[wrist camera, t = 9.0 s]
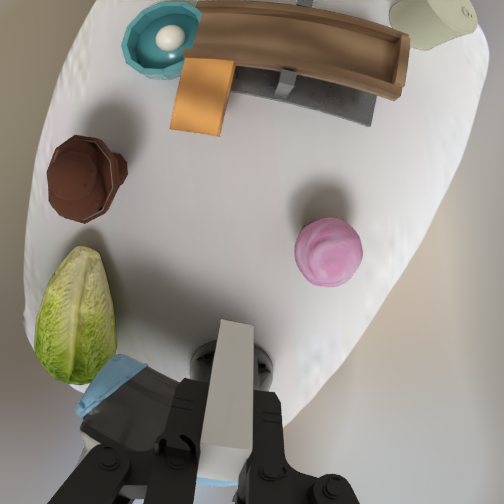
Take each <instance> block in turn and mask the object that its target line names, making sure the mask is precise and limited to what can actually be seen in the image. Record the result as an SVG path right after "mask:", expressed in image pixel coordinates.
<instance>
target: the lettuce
mask: <svg viewBox="0 0 504 504" xmlns="http://www.w3.org/2000/svg"><path fill="white" fill-rule="evenodd" d="M34 349H35V353H36V357H37V358H38V360H39V361H40V363H41V364H42V366H43V367H44V368H45V369H46V371H47V372H48V373H49V374H50V375H52V376H53V377H54V378H55V379H56V380H59V381H62V382H65V383H68V384H75V385H84V384H88V383H91V382H92V381H93V379H94V378H95V376H96V375H97V374H98V372H99V371H100V370H101V368H102V367H103V366H104V365H105V364H106V363H107V361H108V360H109V359H110V358H112V357H113V356H115V353H116V349H117V340H116V325H115V316H114V306H113V302H112V298H111V294H110V289H109V285H108V281H107V277H106V273H105V270H104V267H103V264H102V261H101V257H100V254H99V253H98V252H96V251H95V250H93V249H91V248H90V247H84V246H77V247H76V248H74V249H73V250H72V251H71V252H70V253H69V254H68V256H67V257H66V258H65V259H64V260H63V262H62V263H61V264H60V266H59V267H58V268H57V270H56V271H55V273H54V275H53V276H52V278H51V280H50V281H49V283H48V285H47V288H46V291H45V294H44V296H43V299H42V302H41V305H40V308H39V311H38V314H37V317H36V326H35V341H34Z"/></svg>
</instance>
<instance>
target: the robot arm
mask: <svg viewBox="0 0 504 504" xmlns="http://www.w3.org/2000/svg"><path fill="white" fill-rule="evenodd" d="M272 379H273V371H272V364H271V361H270V359H269V357H268V356H267V355H266V354H265V352H263V351H262V350H261V349H260V348H258V347H257V346H255V345H254V325H249V324H244V323H238V322H233V321H228V320H222V319H221V323H220V329H219V334H218V339H217V340H216V341H213V342H210V343H207V344H205V345H204V346H202V347H201V348H199V349H198V350H197V351H196V353H195V354H194V356H193V358H192V362H191V366H190V379H187V378H184V379H183V380H182V381H181V382H177V381H175V380H173V379H171V378H169V377H167V376H165V375H163V374H162V373H160V372H158V371H156V370H154V369H152V368H150V367H148V365H147V364H146V363H145V364H143V363H141V362H139V361H136V360H134V359H132V358H130V357H128V356H126V355H123V354H118V355H115V356H113V357H112V358H110V359H109V360H108V361H107V363H106V364H105V365H104V366H103V367H102V368H101V370H100V371H99V372H98V374H97V375H96V376H95V378H94V379H93V381H92V382H91V384H90V385H89V387H88V388H87V390H86V391H85V393H84V395H83V396H82V399H81V400H80V402H79V404H78V406H77V408H76V414H77V415H78V416H79V418H81V419H83V422H82V424H81V426H80V429H79V432H80V434H81V437H82V439H83V442H84V448H83V451H82V453H81V455H80V458H79V460H78V463H77V465H76V468H75V470H74V471H73V472H72V474H71V475H70V476H69V477H68V478H67V480H66V481H65V482H64V483H63V485H62V486H61V487H60V488H59V490H58V491H57V492H56V493H55V495H54V496H53V497H52V498H51V500H50V501H49V502H48V503H47V504H132V503H133V501H134V500H135V499H144V503H143V504H193V501H194V493H195V487H196V486H195V485H196V484H200V485H206V486H233V485H238V490H237V492H236V493H235V495H234V497H233V500H232V502H235V504H360V503H359V501H358V499H357V497H356V495H355V493H354V491H353V489H352V487H351V485H350V484H349V483H348V481H347V480H346V479H345V478H343V477H342V476H340V475H336V474H326V475H324V476H321V477H319V478H317V477H313V476H310V475H306V474H303V473H300V472H298V471H296V470H295V469H293V468H292V467H291V466H290V465H289V464H288V463H287V461H286V459H285V453H284V440H283V426H282V415H281V402H280V401H279V399H278V397H277V395H276V394H275V392H268V391H269V389H270V386H271V384H272Z"/></svg>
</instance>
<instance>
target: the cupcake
mask: <svg viewBox="0 0 504 504" xmlns="http://www.w3.org/2000/svg"><path fill="white" fill-rule="evenodd" d="M362 256H363V251H362V245H361V241H360V238H359V236H358V234H357V232H356V231H355V230H354V229H353V228H352V227H351V226H350V225H349V224H347V223H346V222H345V221H343V220H342V219H339V218H333V217H328V218H322V219H319V220H317V221H315V222H313V223H311V224H309V225H306V226H303V228H302V230H301V233H300V234H299V236H298V237H297V240H296V243H295V260H296V263H297V266H298V268H299V270H300V271H301V273H302V274H303V275H304V277H305V278H306V279H307V280H308V281H309V282H311V283H312V284H315V285H319V286H325V287H335V286H339V285H341V284H343V283H345V282H346V281H348V280H349V279H350V278H351V277H352V275H353V274H354V273H355V271H356V270H357V268H358V267H359V265H360V263H361V260H362Z"/></svg>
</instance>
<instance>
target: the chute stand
mask: <svg viewBox="0 0 504 504" xmlns="http://www.w3.org/2000/svg"><path fill="white" fill-rule="evenodd" d="M312 3H313V0H298V1H297V4H296V6H303V7H309V8H311V7H312ZM230 92H235V93H241V94H246V95H252V96H257V97H262V98H267V99H271V100H276V101H280V102H285V103H289V104H293V105H297V106H301V107H305V108H309V109H313V110H316V111H320V112H323V113H327V114H330V115H333V116H337V117H340V118H343V119H346V120H349V121H353V122H356V123H359V124H361V125H364V126H367V127H370V126H371V122H372V117H373V112H374V107H375V102H376V97H377V95H375V94H371V93H368V92H365V91H362V90H358V89H355V88H351V87H348V86H344V85H340V84H336V83H332V82H328V81H324V80H320V79H316V78H311V77H306V76H302V75H297V72H293V71H288V70H284V69H282V71H281V72H280V71H274V70H267V69H260V68H253V67H245V66H236V67H235V71H234V75H233V79H232V84H231V88H230Z"/></svg>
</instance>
